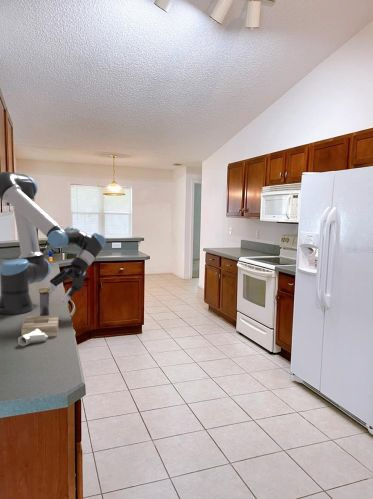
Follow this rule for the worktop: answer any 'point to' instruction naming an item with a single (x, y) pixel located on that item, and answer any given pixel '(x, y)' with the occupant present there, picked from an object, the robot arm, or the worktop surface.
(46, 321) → the socket block
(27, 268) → the robot arm
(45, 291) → the gold-capped peg
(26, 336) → the pipe fitting
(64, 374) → the worktop surface
